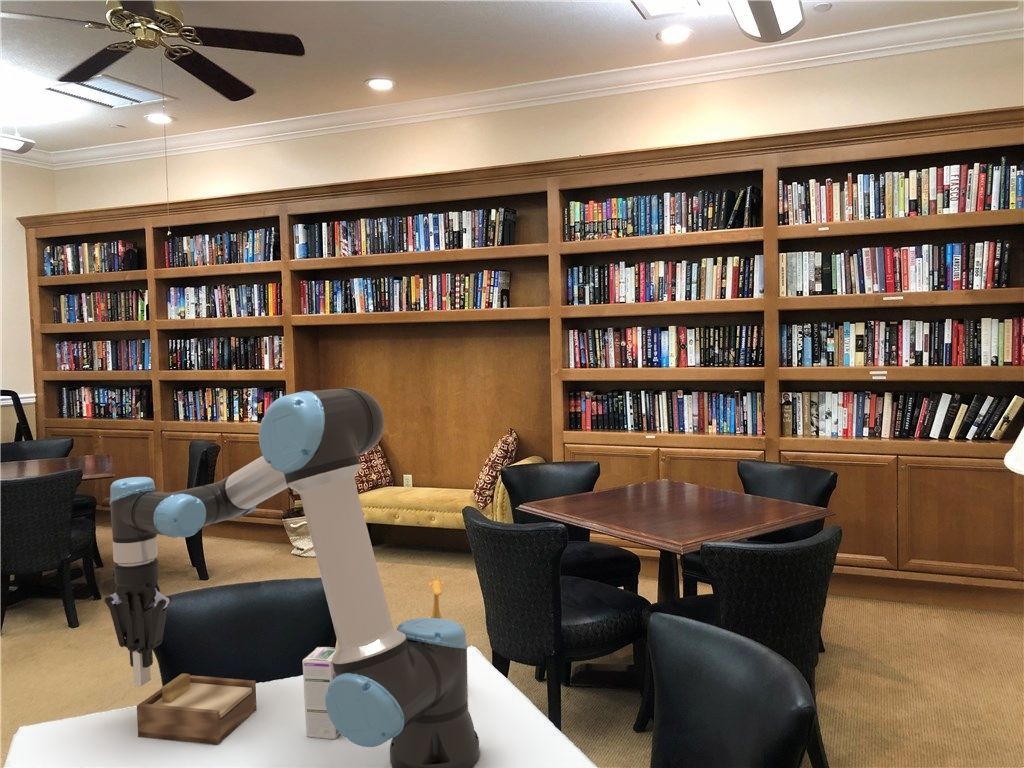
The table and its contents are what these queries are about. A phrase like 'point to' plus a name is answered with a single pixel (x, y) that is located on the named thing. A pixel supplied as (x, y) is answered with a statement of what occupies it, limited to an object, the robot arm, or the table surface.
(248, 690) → the cover plate
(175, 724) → the walnut box
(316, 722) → the syrup box
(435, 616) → the giraffe
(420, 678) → the robot arm
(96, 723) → the table surface
